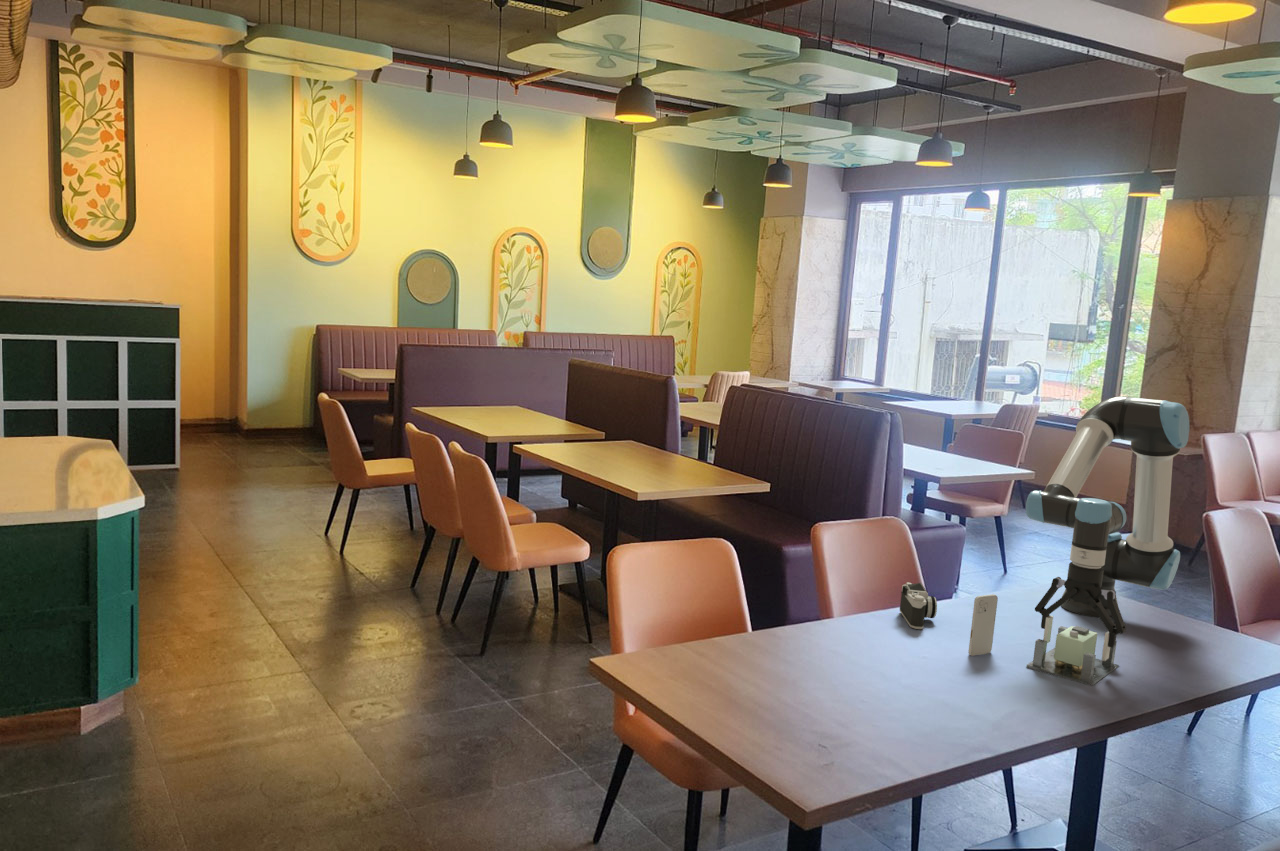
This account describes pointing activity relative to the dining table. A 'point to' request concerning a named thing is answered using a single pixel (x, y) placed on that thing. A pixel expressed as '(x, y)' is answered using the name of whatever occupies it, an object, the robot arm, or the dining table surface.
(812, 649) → the dining table surface
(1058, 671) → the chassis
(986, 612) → the smartphone
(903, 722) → the dining table surface
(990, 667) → the dining table surface
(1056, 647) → the block
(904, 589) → the camera
